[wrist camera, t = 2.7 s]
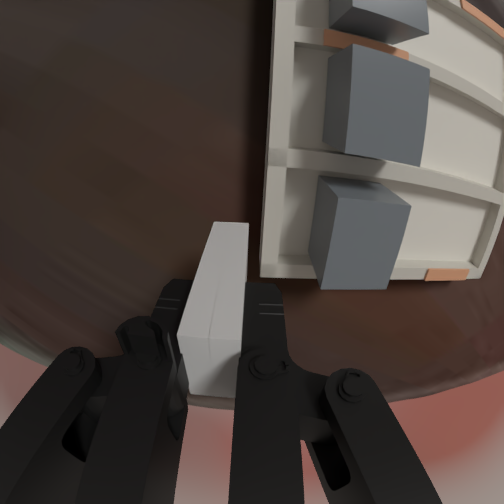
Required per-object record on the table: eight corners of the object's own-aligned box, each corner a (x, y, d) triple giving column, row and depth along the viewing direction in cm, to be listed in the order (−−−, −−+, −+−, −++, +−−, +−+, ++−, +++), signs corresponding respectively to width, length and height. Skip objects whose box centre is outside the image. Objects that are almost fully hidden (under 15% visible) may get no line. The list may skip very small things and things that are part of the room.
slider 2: (322, 141, 14) (344, 153, 10) (328, 58, 11) (352, 43, 8) (384, 151, 14) (419, 167, 10) (391, 73, 11) (429, 69, 8)
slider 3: (307, 251, 17) (320, 289, 14) (318, 175, 15) (338, 197, 11) (363, 253, 17) (385, 289, 14) (379, 182, 15) (411, 206, 11)
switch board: (259, 255, 20) (260, 279, 17) (275, -44, 9) (278, -64, 6) (465, 262, 20) (481, 279, 17) (498, 44, 9) (520, 44, 7)
